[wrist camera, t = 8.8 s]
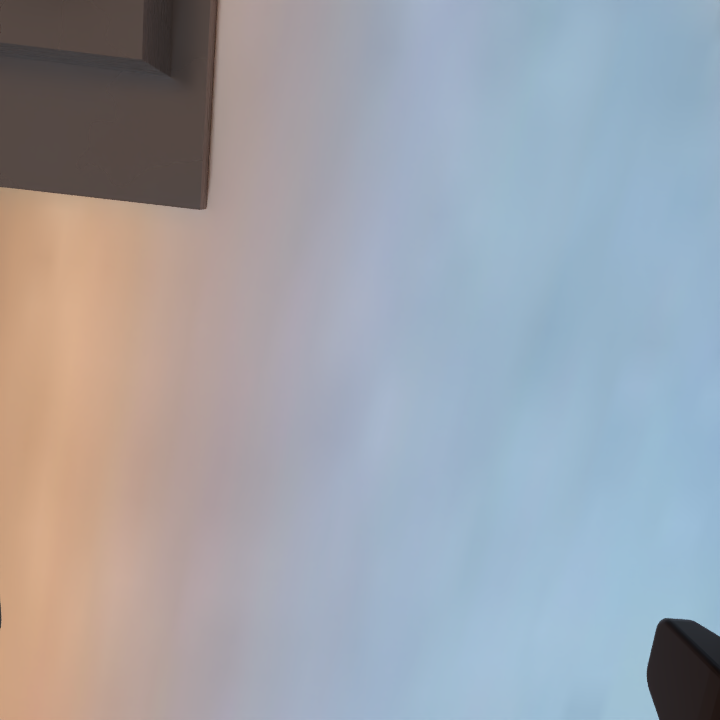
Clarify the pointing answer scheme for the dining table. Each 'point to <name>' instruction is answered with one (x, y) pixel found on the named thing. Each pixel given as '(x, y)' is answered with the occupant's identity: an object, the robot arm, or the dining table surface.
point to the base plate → (107, 98)
